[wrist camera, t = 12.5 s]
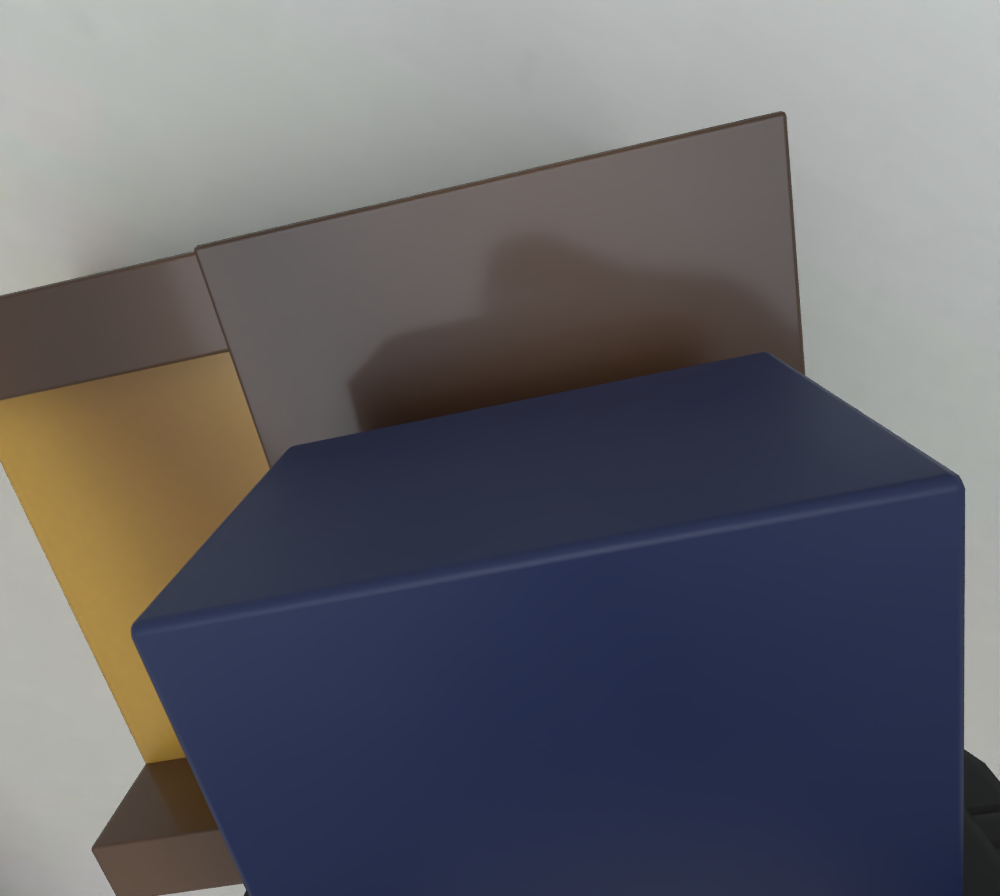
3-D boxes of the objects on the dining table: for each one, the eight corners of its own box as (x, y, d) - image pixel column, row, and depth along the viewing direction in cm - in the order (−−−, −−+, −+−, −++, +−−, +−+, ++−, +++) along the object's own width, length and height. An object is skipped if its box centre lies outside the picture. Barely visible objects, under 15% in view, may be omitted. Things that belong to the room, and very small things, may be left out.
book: (773, 347, 8) (978, 475, 5) (828, 978, 12) (970, 1336, 8) (286, 444, 9) (121, 628, 5) (479, 1019, 13) (462, 1372, 9)
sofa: (632, 155, 21) (788, 109, 9) (696, 611, 26) (849, 974, 14) (73, 283, 23) (-438, 391, 11) (238, 687, 28) (23, 1071, 16)
